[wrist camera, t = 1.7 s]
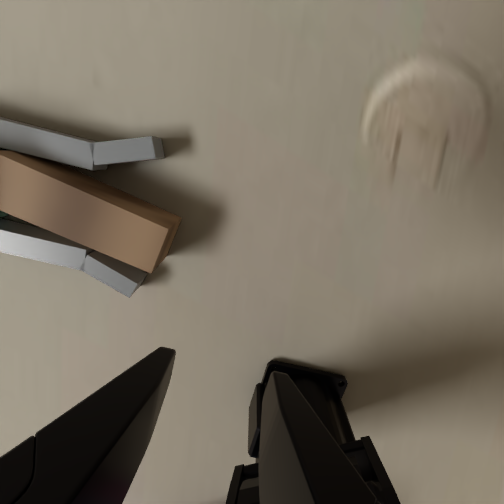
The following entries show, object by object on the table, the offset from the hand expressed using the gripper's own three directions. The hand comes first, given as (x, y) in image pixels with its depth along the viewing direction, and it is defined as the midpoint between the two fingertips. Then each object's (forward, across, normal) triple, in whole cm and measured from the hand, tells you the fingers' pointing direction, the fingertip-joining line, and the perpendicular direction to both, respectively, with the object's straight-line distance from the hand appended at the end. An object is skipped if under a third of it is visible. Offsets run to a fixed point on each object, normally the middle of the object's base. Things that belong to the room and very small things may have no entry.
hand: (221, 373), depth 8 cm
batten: (+13, +10, 0) cm, 16 cm away
